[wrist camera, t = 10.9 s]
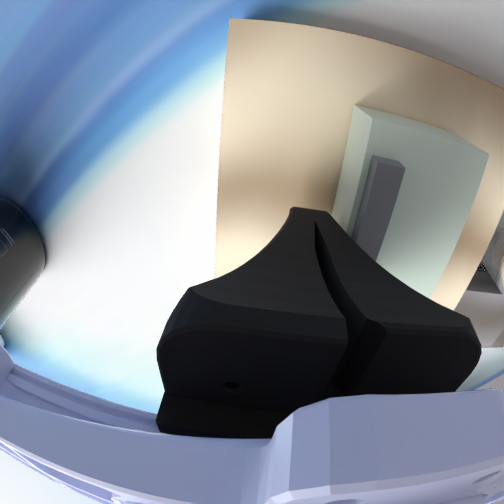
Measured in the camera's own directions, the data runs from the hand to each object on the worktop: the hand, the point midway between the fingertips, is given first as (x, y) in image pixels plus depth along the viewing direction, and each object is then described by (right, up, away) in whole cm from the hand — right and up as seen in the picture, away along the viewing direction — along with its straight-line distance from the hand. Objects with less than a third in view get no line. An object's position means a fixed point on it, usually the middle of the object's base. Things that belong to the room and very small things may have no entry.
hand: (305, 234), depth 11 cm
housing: (+6, +1, +3) cm, 7 cm away
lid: (+3, 0, +1) cm, 3 cm away
